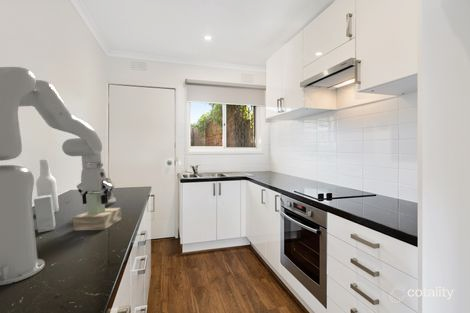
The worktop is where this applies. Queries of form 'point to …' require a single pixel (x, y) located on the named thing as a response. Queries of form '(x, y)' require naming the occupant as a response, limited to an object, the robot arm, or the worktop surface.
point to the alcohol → (47, 184)
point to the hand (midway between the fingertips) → (95, 203)
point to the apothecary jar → (109, 194)
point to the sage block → (94, 203)
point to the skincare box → (44, 213)
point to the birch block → (97, 219)
